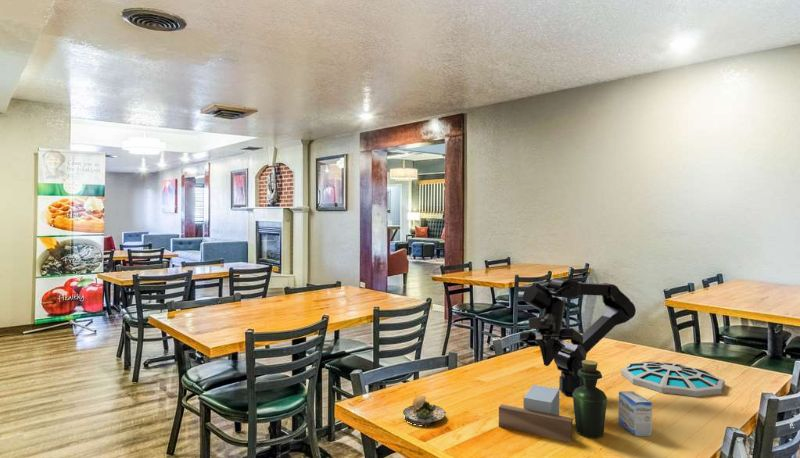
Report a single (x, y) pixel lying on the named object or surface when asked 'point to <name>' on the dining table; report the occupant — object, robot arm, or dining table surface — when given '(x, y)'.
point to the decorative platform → (673, 378)
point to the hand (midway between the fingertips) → (546, 365)
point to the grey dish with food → (423, 412)
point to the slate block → (542, 399)
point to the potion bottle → (589, 402)
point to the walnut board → (536, 422)
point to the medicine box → (635, 413)
